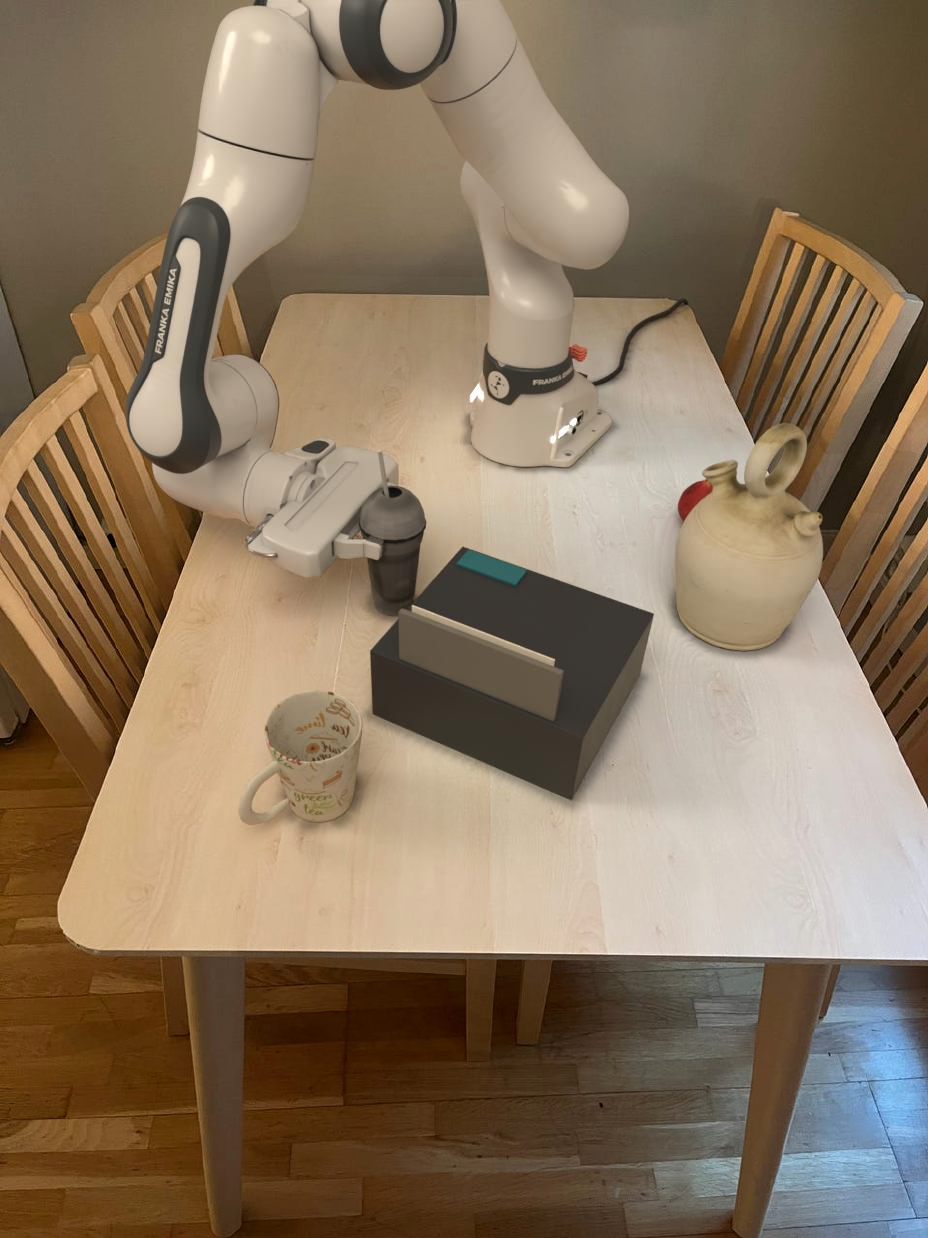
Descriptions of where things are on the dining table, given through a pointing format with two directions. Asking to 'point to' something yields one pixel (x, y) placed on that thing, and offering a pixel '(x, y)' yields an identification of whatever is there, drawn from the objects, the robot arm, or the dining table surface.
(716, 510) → the jug
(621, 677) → the printer
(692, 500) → the red pomegranate
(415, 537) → the beverage cup
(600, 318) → the dining table surface
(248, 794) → the mug
